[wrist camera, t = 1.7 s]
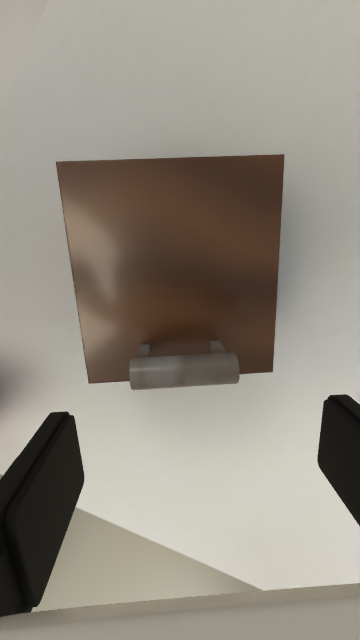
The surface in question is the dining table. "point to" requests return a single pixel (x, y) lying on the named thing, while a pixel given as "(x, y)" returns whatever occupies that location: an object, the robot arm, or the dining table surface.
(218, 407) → the dining table surface
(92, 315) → the lid
